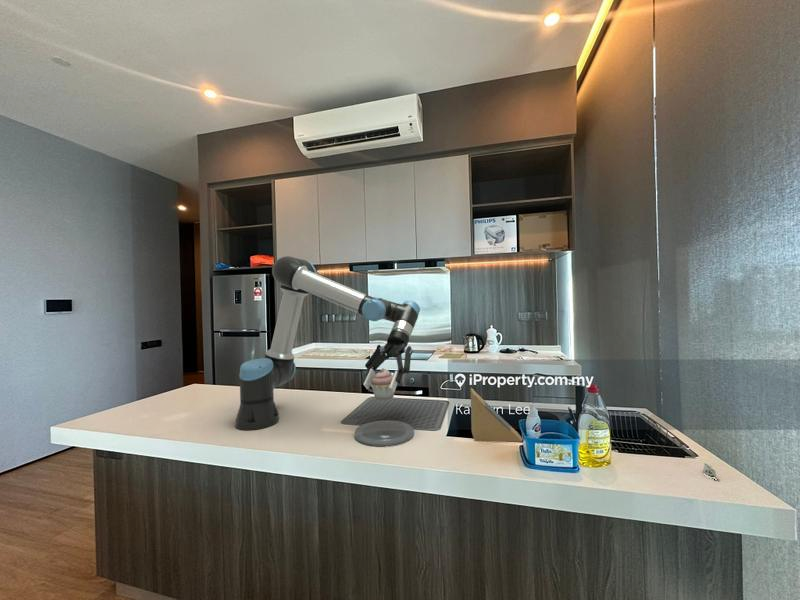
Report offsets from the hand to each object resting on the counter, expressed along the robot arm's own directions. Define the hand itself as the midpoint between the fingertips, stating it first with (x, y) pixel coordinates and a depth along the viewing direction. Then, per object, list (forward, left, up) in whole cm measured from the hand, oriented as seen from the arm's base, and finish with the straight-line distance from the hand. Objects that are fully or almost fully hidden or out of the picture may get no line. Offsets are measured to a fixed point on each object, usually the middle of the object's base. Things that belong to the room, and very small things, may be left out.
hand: (378, 388), depth 111 cm
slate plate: (-1, +3, -16) cm, 16 cm away
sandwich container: (+29, +25, -17) cm, 42 cm away
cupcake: (-1, +3, -4) cm, 5 cm away
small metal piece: (+79, +35, -17) cm, 88 cm away
